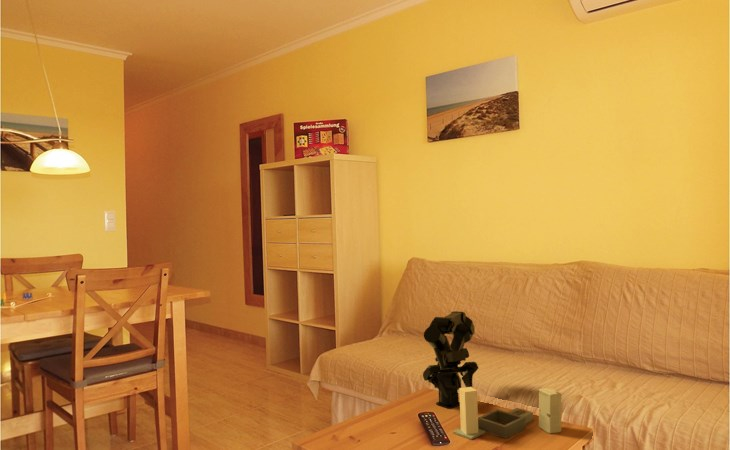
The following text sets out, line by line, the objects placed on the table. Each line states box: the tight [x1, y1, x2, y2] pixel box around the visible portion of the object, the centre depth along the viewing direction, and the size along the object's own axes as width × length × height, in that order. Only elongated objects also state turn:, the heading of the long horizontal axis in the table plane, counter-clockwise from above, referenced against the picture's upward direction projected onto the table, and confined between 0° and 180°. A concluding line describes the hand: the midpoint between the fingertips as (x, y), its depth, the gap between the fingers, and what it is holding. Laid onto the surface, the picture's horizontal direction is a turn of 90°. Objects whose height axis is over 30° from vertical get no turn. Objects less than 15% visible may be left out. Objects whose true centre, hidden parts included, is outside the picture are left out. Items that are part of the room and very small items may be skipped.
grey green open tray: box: [478, 407, 534, 440], centre depth 173 cm, size 10×18×4 cm, turn 130°
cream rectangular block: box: [458, 386, 479, 435], centre depth 168 cm, size 4×4×13 cm
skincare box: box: [538, 387, 562, 434], centre depth 168 cm, size 6×4×12 cm
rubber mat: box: [452, 427, 487, 440], centre depth 168 cm, size 7×7×1 cm
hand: (459, 395), depth 176 cm, fingers open, 9 cm apart
